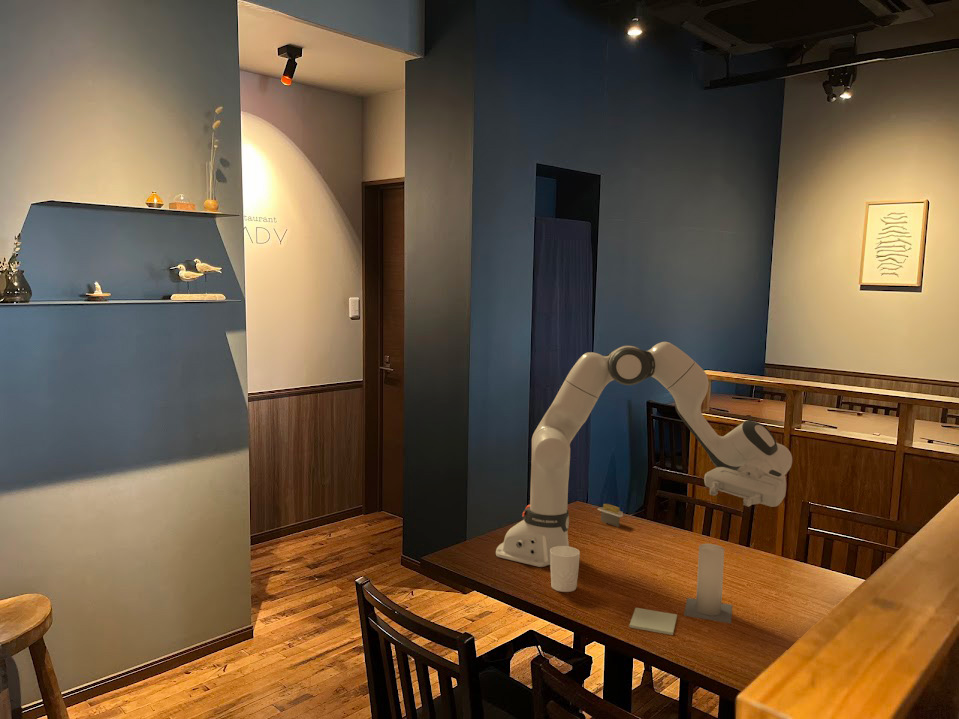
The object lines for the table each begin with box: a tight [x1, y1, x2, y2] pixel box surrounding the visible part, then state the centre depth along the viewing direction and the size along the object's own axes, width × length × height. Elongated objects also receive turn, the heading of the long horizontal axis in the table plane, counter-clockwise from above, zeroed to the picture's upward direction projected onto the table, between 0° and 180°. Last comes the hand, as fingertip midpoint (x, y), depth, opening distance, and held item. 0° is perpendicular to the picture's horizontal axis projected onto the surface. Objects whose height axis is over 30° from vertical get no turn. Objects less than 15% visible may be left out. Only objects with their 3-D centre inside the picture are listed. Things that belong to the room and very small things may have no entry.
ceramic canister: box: [695, 543, 725, 615], centre depth 179 cm, size 6×6×16 cm
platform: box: [597, 503, 624, 528], centre depth 245 cm, size 12×18×7 cm, turn 40°
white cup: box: [549, 545, 581, 593], centre depth 192 cm, size 8×8×10 cm
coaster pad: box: [628, 607, 678, 636], centre depth 173 cm, size 10×10×1 cm
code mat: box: [683, 597, 733, 624], centre depth 180 cm, size 11×11×1 cm
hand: (728, 497), depth 185 cm, fingers open, 8 cm apart
